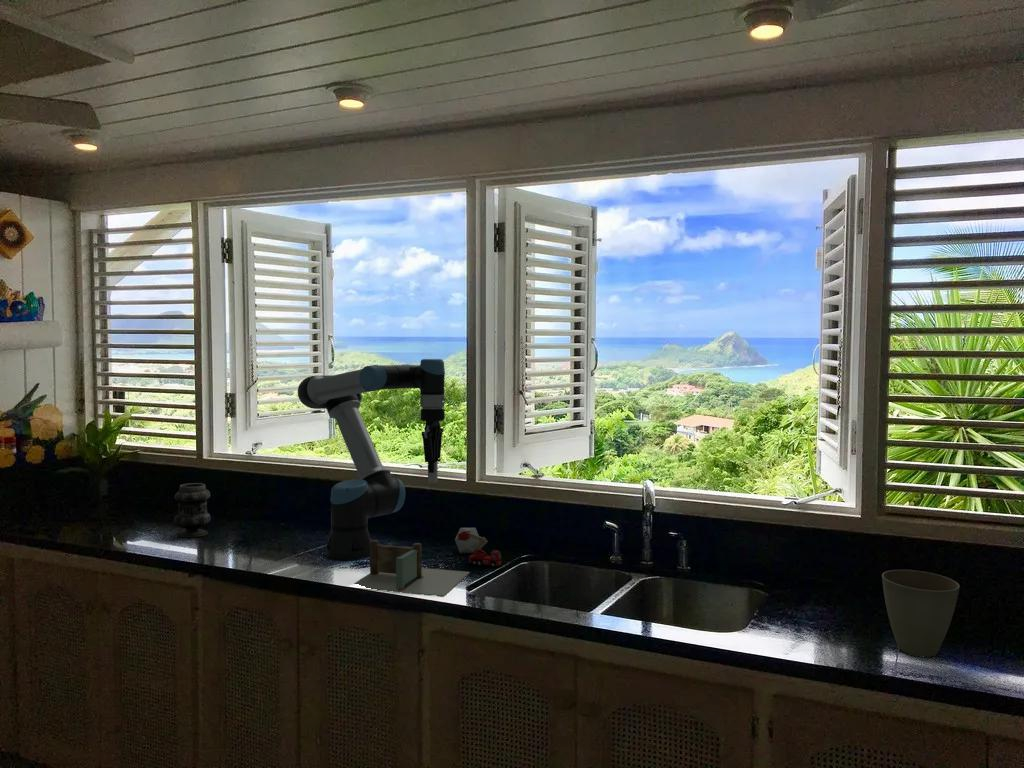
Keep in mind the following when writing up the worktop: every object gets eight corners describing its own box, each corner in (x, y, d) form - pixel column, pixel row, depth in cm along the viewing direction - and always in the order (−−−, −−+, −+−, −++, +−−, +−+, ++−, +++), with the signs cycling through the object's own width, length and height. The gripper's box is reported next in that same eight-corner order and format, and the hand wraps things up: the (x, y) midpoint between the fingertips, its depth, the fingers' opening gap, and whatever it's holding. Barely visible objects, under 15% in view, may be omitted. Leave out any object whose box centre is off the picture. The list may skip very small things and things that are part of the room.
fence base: (368, 575, 215) (368, 541, 214) (372, 573, 217) (372, 539, 217) (419, 579, 211) (419, 545, 210) (422, 577, 213) (422, 543, 213)
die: (470, 559, 235) (486, 533, 237) (447, 544, 236) (464, 519, 239) (471, 561, 242) (486, 536, 245) (449, 547, 244) (465, 522, 246)
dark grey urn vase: (218, 533, 264) (217, 483, 263) (187, 540, 254) (187, 489, 253) (197, 529, 271) (196, 480, 270) (167, 535, 261) (166, 485, 260)
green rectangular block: (412, 577, 211) (412, 548, 211) (417, 578, 210) (417, 549, 210) (396, 588, 201) (396, 557, 201) (402, 588, 201) (402, 558, 200)
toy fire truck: (498, 567, 223) (498, 536, 223) (457, 563, 228) (457, 532, 227) (502, 564, 226) (502, 533, 226) (461, 560, 231) (461, 530, 231)
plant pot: (884, 659, 157) (886, 585, 156) (876, 634, 171) (878, 566, 170) (964, 670, 152) (966, 593, 151) (950, 643, 165) (952, 573, 165)
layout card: (349, 587, 203) (349, 586, 203) (383, 565, 225) (383, 564, 225) (443, 596, 196) (443, 595, 196) (469, 573, 217) (469, 571, 217)
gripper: (436, 409, 223) (436, 486, 224) (450, 406, 236) (450, 479, 237) (413, 409, 225) (413, 485, 226) (429, 406, 237) (429, 478, 238)
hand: (432, 482), depth 231 cm, fingers closed
